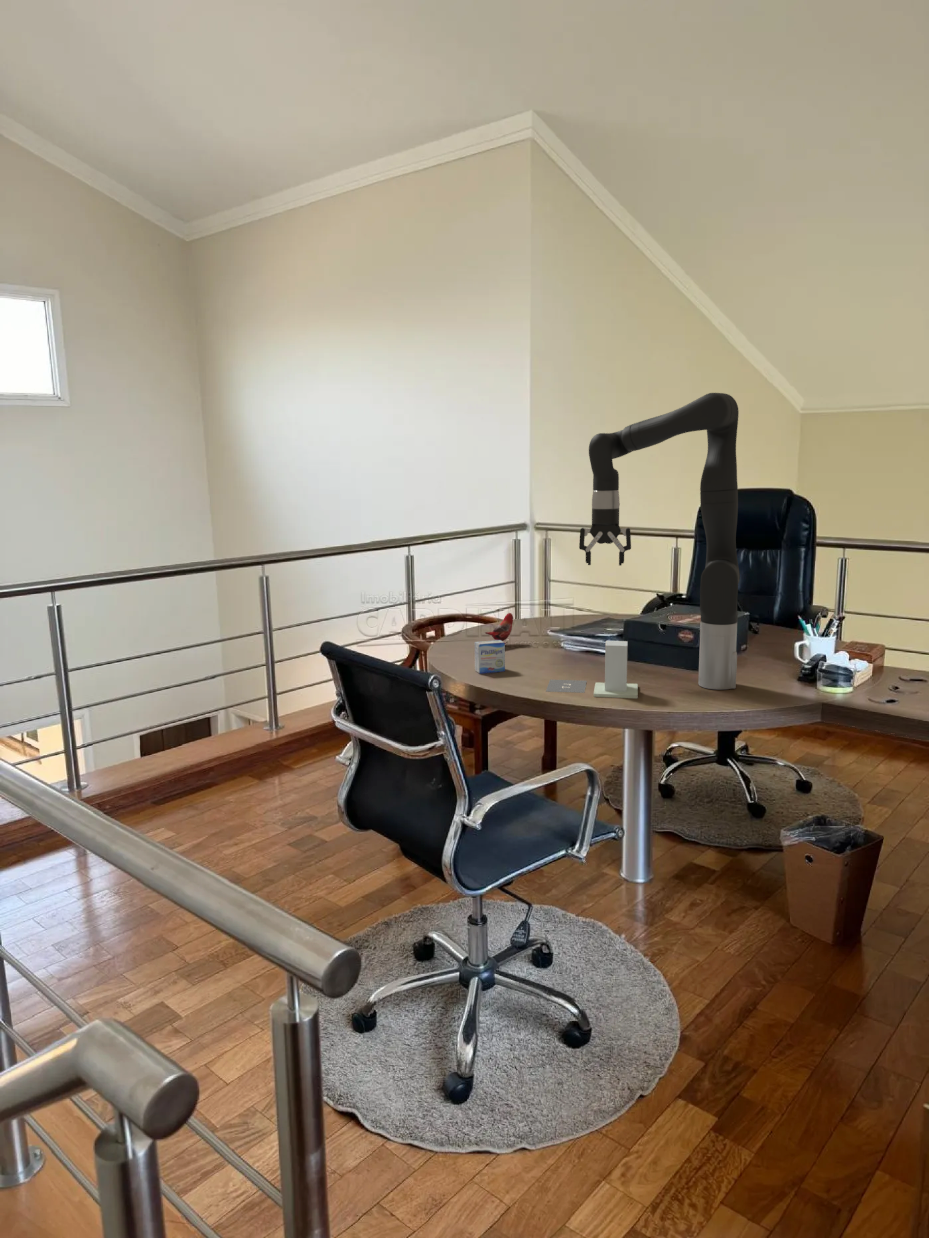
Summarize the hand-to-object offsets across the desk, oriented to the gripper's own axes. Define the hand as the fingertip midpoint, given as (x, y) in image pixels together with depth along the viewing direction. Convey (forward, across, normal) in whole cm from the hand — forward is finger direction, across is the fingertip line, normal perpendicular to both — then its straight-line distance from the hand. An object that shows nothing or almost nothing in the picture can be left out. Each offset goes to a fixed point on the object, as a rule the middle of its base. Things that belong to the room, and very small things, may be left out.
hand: (604, 565), depth 243 cm
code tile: (+30, -9, -20) cm, 37 cm away
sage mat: (+30, +4, -24) cm, 39 cm away
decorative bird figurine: (+30, -34, +26) cm, 52 cm away
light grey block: (+29, +4, -24) cm, 38 cm away
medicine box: (+30, -32, -6) cm, 44 cm away
